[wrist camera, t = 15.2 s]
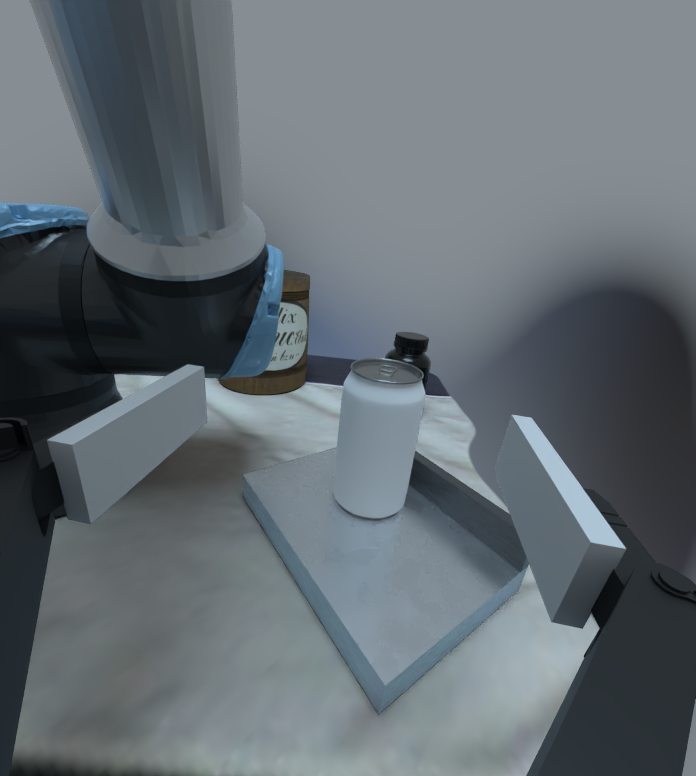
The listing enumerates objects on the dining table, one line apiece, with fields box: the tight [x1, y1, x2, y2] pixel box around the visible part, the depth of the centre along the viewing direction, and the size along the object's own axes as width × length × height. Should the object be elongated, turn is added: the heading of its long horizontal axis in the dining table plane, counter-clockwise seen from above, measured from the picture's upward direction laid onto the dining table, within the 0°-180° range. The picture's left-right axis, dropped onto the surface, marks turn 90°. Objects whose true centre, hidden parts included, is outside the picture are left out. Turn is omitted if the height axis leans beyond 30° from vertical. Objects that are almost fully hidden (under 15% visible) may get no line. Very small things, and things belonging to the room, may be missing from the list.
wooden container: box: [219, 270, 310, 395], centre depth 58 cm, size 15×15×22 cm
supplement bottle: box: [385, 332, 431, 390], centre depth 53 cm, size 7×7×12 cm
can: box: [333, 358, 425, 519], centre depth 29 cm, size 6×6×12 cm
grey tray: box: [243, 447, 529, 714], centre depth 29 cm, size 20×14×6 cm
